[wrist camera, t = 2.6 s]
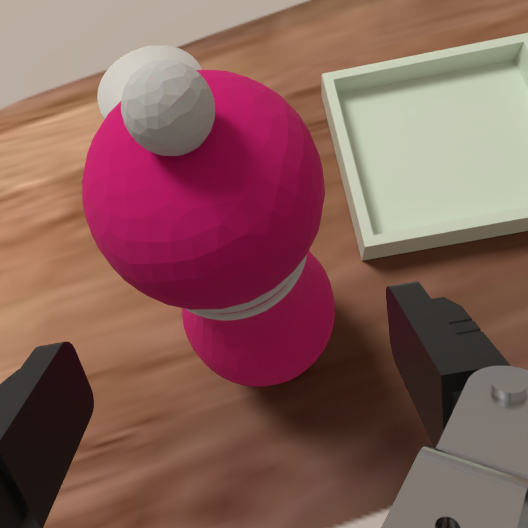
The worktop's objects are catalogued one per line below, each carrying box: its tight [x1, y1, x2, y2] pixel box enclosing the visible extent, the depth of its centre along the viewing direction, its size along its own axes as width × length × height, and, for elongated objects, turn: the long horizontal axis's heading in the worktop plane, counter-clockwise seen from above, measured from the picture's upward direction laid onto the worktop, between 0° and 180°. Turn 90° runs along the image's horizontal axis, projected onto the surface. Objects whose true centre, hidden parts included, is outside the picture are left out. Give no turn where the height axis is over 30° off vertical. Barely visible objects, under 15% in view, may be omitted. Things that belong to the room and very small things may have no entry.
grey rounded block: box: [97, 45, 202, 118], centre depth 29 cm, size 6×6×6 cm
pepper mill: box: [82, 59, 335, 387], centre depth 18 cm, size 7×7×20 cm
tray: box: [322, 33, 528, 261], centre depth 29 cm, size 13×12×2 cm
